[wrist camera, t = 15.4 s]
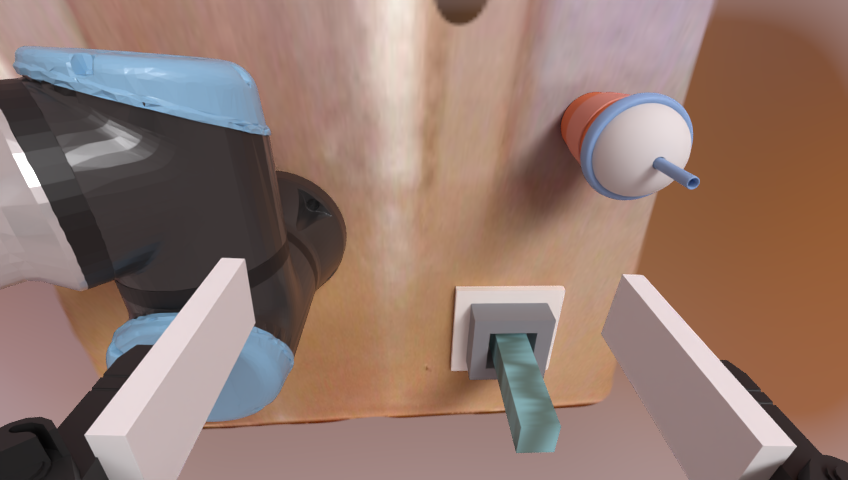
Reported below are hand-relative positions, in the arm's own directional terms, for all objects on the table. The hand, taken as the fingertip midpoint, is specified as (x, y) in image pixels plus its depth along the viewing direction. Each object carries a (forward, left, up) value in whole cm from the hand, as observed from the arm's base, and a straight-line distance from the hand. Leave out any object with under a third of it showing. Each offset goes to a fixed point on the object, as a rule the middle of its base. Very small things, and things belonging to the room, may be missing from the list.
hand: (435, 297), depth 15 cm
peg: (+12, -29, -31) cm, 44 cm away
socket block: (+12, -29, -32) cm, 45 cm away
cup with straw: (+18, -1, -32) cm, 37 cm away
